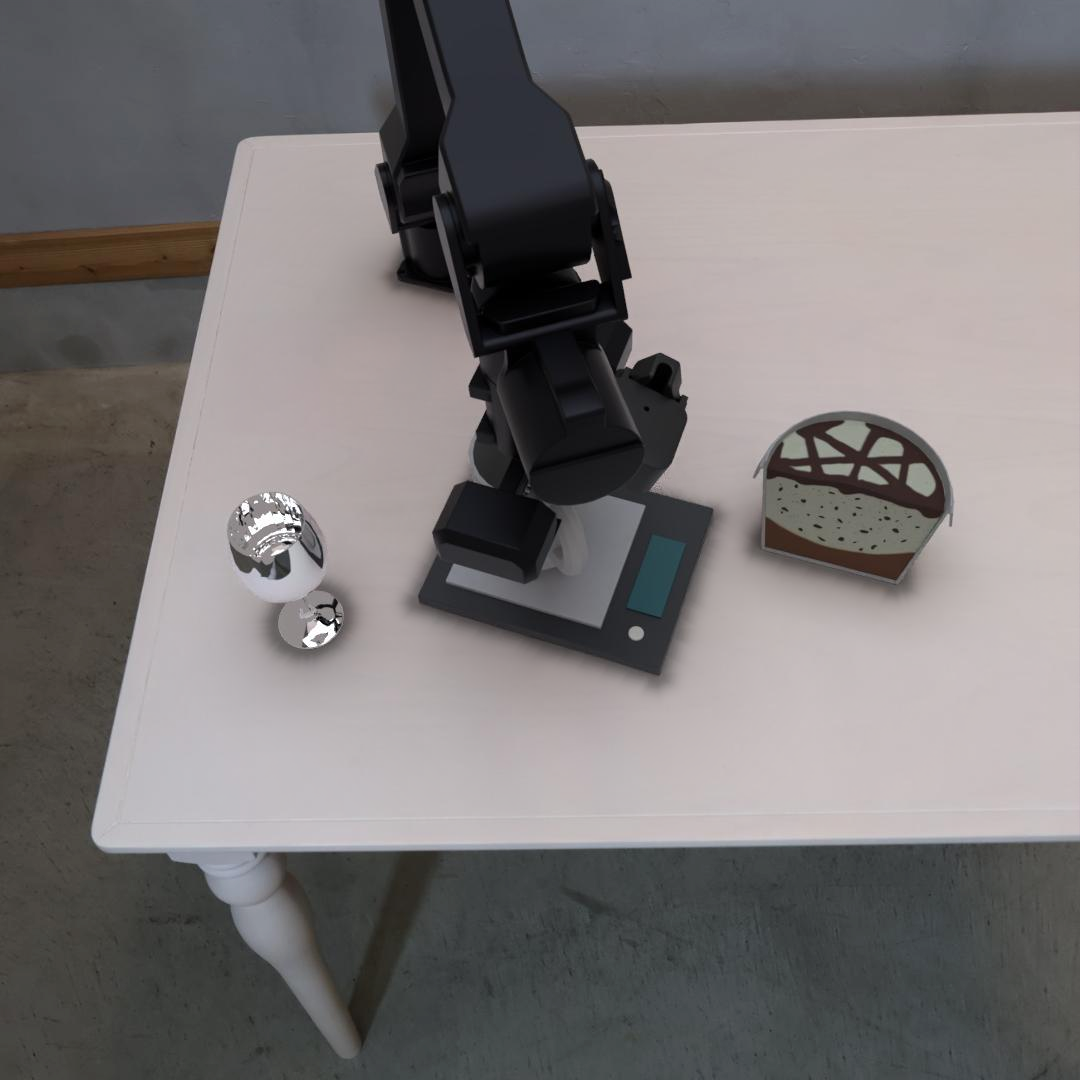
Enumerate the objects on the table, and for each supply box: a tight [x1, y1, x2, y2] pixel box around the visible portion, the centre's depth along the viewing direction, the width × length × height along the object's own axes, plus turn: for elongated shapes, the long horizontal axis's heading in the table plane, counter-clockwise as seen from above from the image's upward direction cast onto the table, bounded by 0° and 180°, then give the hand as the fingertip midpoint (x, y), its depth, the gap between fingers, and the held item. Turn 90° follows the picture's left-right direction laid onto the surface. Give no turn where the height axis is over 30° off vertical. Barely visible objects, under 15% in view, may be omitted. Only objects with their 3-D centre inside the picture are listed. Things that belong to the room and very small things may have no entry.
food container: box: [752, 410, 955, 585], centre depth 74 cm, size 12×6×10 cm, turn 71°
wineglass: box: [226, 491, 345, 650], centre depth 71 cm, size 6×6×12 cm
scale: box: [417, 479, 714, 676], centre depth 77 cm, size 17×13×1 cm
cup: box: [468, 431, 588, 576], centre depth 72 cm, size 7×10×9 cm
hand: (544, 510), depth 74 cm, fingers closed on cup, 7 cm apart
